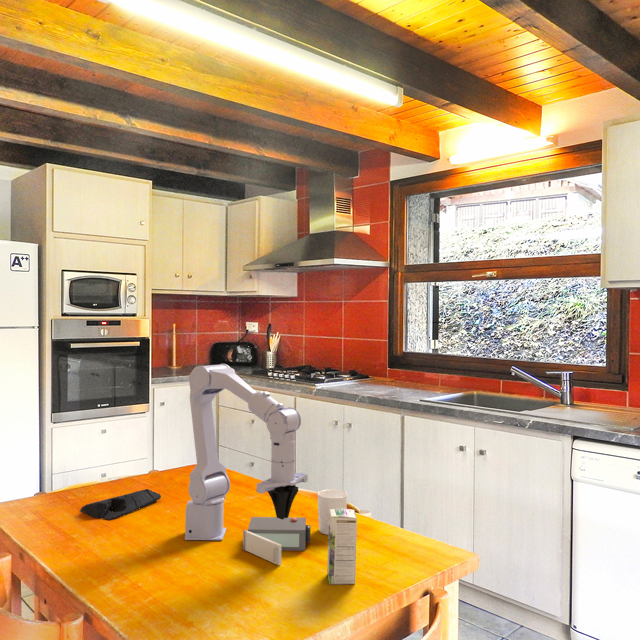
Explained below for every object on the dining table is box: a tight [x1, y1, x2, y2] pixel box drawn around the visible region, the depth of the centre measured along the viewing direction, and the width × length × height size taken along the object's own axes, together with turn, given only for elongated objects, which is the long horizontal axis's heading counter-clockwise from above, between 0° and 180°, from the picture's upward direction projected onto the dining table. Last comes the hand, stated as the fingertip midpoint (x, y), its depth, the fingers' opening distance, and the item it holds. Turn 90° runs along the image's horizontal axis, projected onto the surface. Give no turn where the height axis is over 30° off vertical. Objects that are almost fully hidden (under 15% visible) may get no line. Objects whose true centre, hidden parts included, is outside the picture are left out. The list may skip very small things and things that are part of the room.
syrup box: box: [327, 508, 358, 585], centre depth 130 cm, size 6×6×14 cm
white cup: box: [317, 488, 348, 536], centre depth 159 cm, size 8×8×10 cm
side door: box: [242, 529, 282, 566], centre depth 141 cm, size 13×1×5 cm, turn 46°
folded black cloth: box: [79, 488, 162, 521], centre depth 176 cm, size 15×22×5 cm
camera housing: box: [247, 516, 311, 552], centre depth 150 cm, size 15×9×6 cm, turn 91°
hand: (282, 517), depth 141 cm, fingers closed
